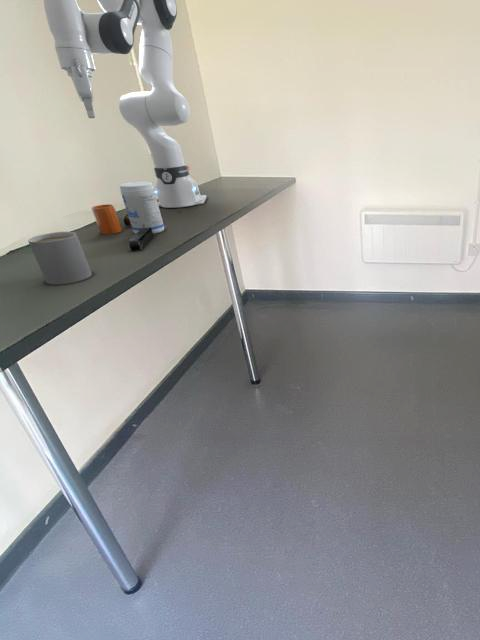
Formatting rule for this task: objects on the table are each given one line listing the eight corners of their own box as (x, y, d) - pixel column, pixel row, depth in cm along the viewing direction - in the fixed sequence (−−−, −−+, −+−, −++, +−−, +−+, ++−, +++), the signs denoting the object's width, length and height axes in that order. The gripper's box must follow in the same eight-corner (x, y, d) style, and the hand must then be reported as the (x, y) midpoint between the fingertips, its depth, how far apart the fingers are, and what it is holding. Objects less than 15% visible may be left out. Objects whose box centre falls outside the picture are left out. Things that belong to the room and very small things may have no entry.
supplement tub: (127, 234, 156) (111, 185, 148) (149, 227, 163) (135, 180, 155) (150, 236, 153) (134, 186, 145) (172, 229, 160) (158, 181, 152)
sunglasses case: (151, 224, 165) (135, 207, 161) (136, 236, 166) (119, 220, 162) (160, 213, 180) (145, 198, 176) (146, 225, 181) (131, 209, 177)
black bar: (140, 251, 139) (137, 240, 137) (131, 251, 138) (127, 241, 136) (154, 235, 153) (151, 226, 152) (145, 236, 153) (142, 226, 151)
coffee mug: (84, 282, 116) (68, 240, 111) (39, 286, 115) (20, 244, 109) (101, 266, 127) (86, 226, 122) (60, 269, 126) (43, 230, 120)
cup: (106, 229, 163) (97, 204, 159) (125, 228, 163) (117, 203, 159) (97, 234, 158) (87, 208, 153) (116, 233, 158) (107, 207, 153)
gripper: (88, 58, 133) (103, 115, 140) (89, 67, 149) (103, 119, 156) (62, 56, 131) (78, 115, 137) (65, 66, 147) (80, 118, 153)
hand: (91, 117), depth 147 cm, fingers open, 8 cm apart
